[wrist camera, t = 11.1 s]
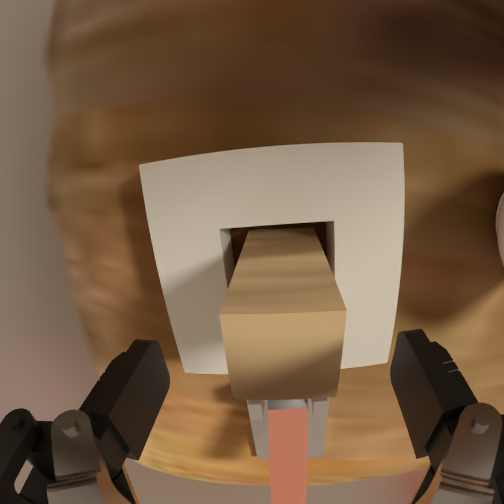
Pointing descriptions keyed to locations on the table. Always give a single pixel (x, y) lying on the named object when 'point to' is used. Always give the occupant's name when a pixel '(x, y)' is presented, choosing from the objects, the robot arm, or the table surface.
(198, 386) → the table surface
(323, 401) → the lever bracket
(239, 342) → the peg
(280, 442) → the latch lever
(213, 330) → the socket block
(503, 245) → the lidded jar
